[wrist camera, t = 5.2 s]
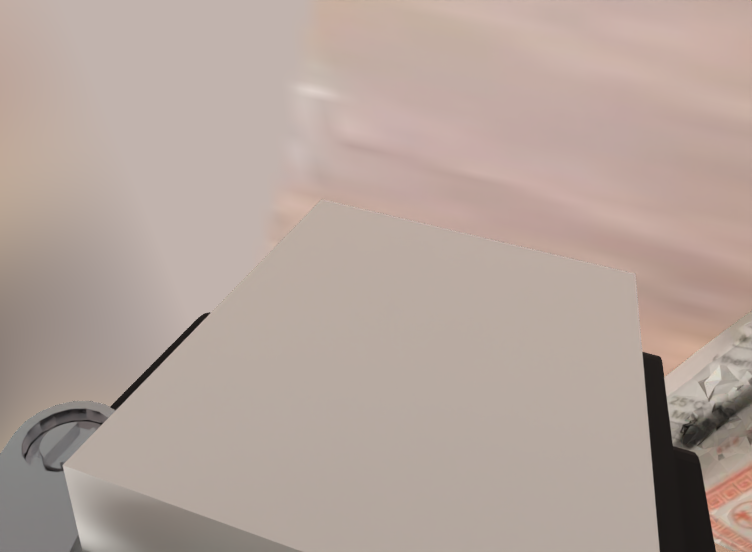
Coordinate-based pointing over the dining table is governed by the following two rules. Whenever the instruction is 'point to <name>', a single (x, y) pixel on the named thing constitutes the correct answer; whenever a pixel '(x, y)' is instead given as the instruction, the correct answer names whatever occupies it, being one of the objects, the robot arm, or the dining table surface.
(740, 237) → the dining table surface
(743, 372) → the packaged product
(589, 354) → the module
